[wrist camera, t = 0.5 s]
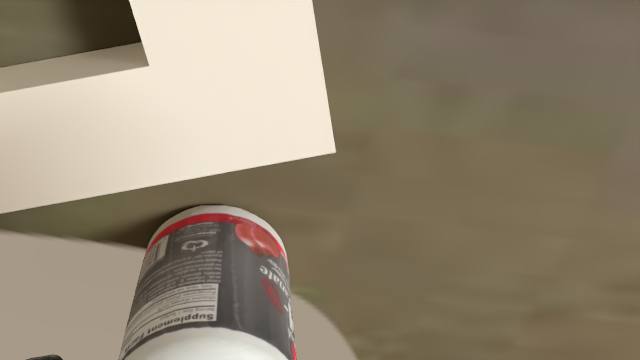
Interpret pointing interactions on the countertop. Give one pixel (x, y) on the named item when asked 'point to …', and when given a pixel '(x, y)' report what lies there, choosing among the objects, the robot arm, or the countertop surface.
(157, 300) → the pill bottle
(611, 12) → the countertop surface
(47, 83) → the socket plate
